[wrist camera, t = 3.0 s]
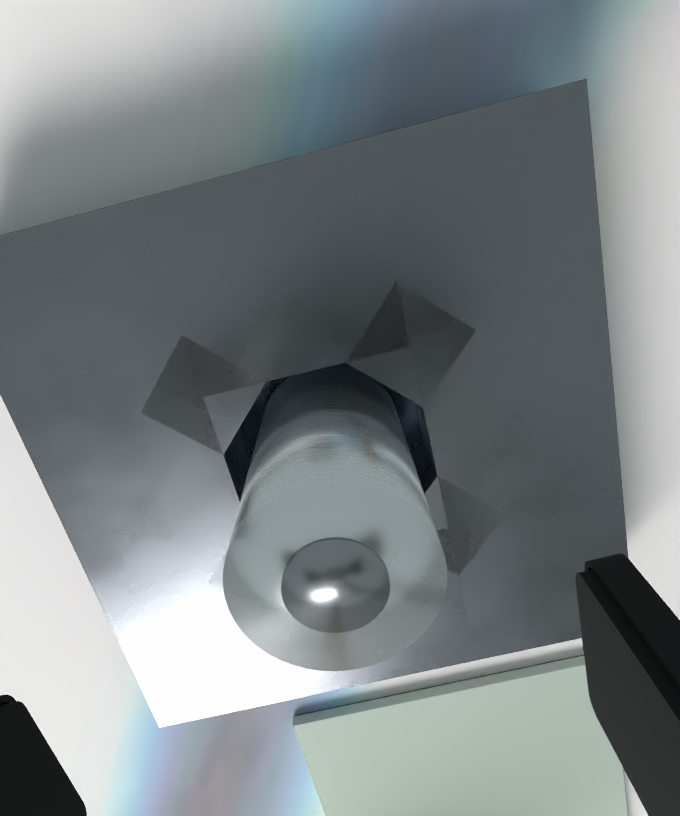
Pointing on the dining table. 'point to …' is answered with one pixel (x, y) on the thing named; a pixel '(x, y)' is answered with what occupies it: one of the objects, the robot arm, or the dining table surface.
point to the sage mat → (468, 750)
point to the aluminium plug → (333, 529)
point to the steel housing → (318, 348)
